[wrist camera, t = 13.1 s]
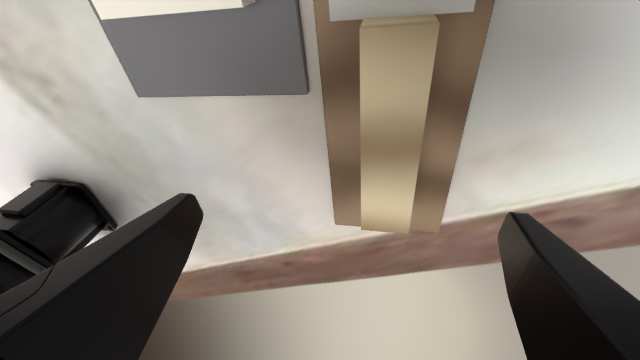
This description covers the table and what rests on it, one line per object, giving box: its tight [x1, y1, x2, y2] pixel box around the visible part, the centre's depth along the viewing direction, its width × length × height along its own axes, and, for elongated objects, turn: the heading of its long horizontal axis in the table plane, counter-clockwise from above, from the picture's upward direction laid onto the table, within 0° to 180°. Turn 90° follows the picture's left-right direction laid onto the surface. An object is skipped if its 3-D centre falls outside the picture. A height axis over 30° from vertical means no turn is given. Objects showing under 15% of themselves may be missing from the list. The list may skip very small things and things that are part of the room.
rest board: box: [313, 0, 495, 233], centre depth 16 cm, size 22×8×1 cm, turn 6°
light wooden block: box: [329, 0, 476, 234], centre depth 14 cm, size 19×6×3 cm, turn 6°
